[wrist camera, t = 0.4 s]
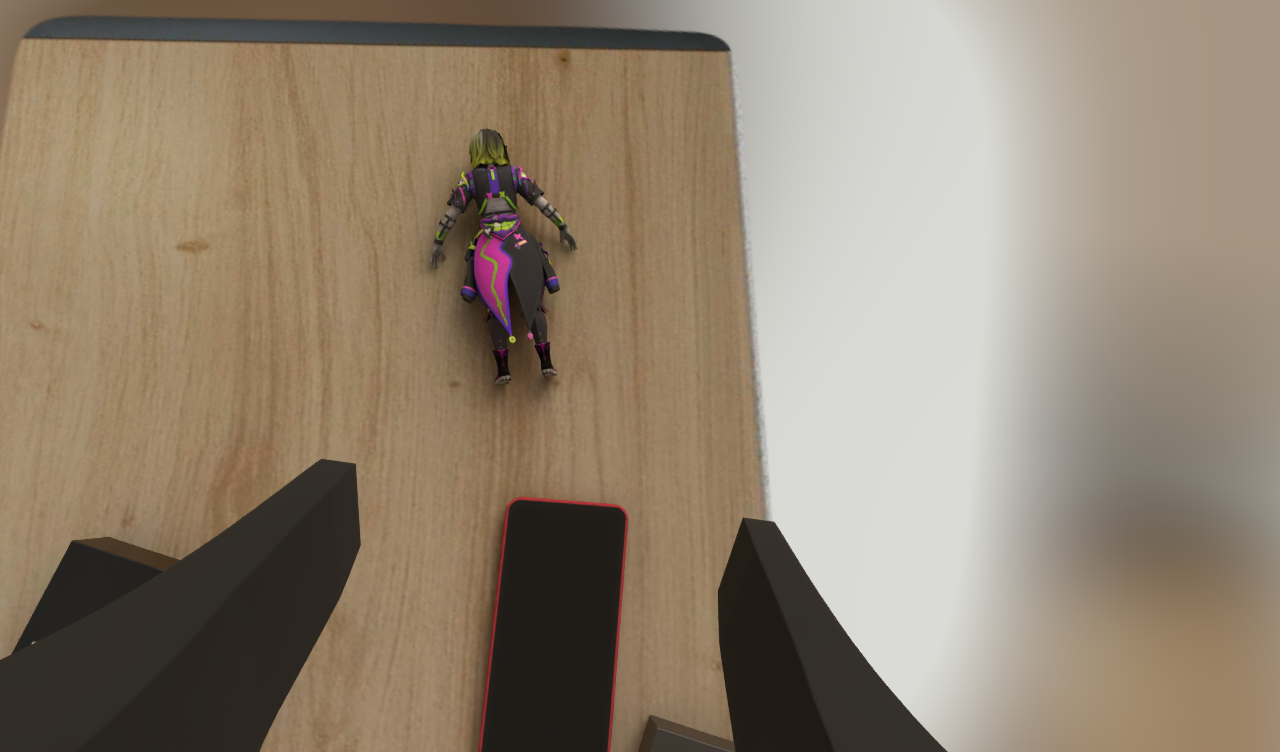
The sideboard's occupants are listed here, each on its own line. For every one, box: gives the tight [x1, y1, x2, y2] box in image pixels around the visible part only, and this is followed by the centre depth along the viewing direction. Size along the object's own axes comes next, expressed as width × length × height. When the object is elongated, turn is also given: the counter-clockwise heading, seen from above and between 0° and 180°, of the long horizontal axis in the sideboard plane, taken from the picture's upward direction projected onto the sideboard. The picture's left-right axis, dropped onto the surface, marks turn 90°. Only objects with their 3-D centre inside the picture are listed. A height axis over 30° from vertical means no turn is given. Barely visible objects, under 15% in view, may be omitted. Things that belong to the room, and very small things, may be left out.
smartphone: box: [478, 497, 628, 752], centre depth 39 cm, size 7×1×15 cm
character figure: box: [430, 128, 577, 385], centre depth 41 cm, size 9×4×16 cm
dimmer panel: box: [11, 537, 180, 655], centre depth 34 cm, size 10×10×3 cm
